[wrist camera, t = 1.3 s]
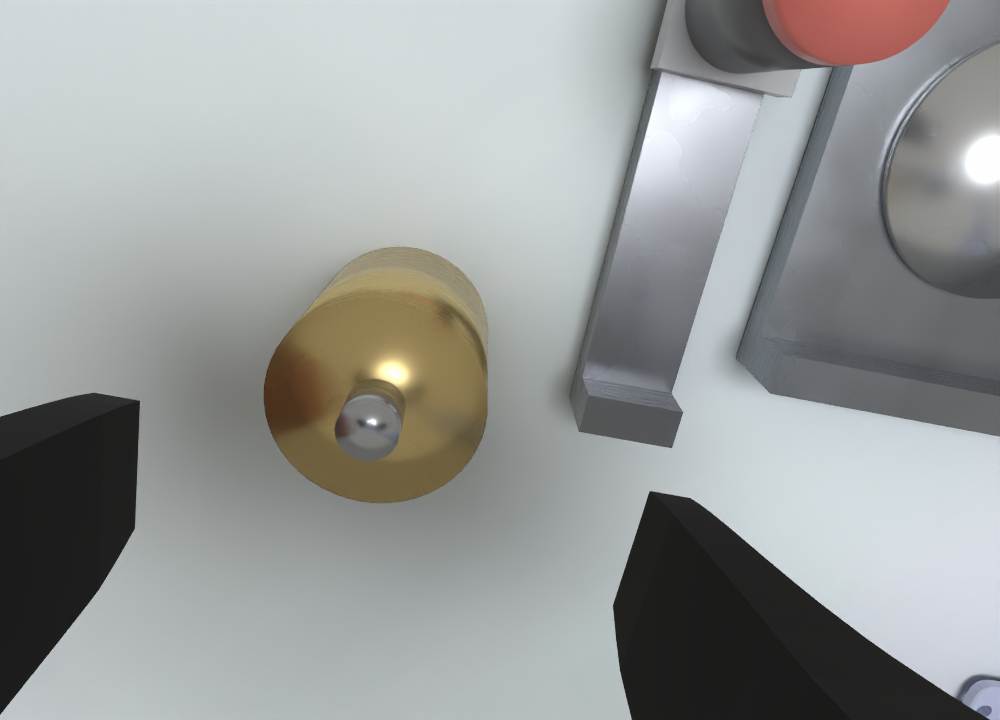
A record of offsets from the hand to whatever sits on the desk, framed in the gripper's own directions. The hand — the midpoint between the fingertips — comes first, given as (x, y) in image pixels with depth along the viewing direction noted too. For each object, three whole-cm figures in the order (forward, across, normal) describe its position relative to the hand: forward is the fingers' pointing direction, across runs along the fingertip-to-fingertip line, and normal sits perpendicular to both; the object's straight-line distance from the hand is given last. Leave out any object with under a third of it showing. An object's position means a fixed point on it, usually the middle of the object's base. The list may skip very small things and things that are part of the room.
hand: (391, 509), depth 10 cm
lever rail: (+10, -5, -5) cm, 12 cm away
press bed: (+10, -13, -6) cm, 17 cm away
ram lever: (+8, -5, -8) cm, 13 cm away
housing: (+10, +1, +1) cm, 10 cm away
